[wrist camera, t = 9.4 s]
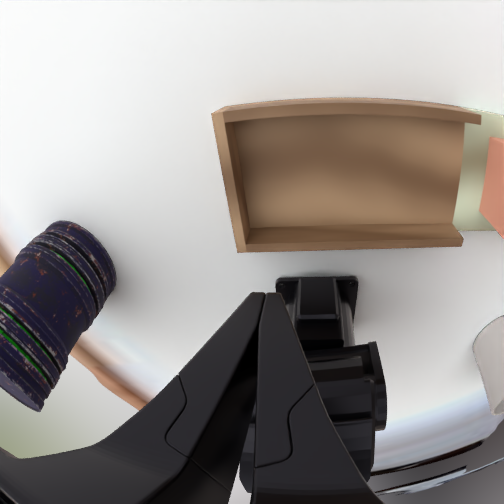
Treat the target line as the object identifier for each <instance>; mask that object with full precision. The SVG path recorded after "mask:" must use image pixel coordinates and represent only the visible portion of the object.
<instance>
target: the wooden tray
mask: <svg viewBox="0 0 504 504" xmlns="http://www.w3.org/2000/svg"><path fill="white" fill-rule="evenodd" d="M211 115H212V120H213V126H214V131H215V137H216V142H217V148H218V153H219V159H220V164H221V169H222V175H223V180H224V185H225V191H226V196H227V201H228V206H229V212H230V217H231V222H232V227H233V232H234V237H235V242H236V248H237V253H244V252H280V251H317V250H353V249H389V248H425V247H461V246H462V243H463V237H462V236H461V235H460V233H459V232H458V231H496V229H495V228H494V227H493V226H492V225H491V224H490V223H489V221H488V220H487V219H486V218H485V217H484V216H483V215H482V214H481V213H480V212H479V207H480V202H481V197H482V192H483V186H484V180H485V173H486V166H487V158H488V148H489V137H496V138H502V139H504V116H503V115H499V114H495V113H490V112H486V111H481V110H476V109H470V108H464V107H458V106H452V105H445V104H438V103H430V102H421V101H410V100H397V99H380V98H310V99H292V100H278V101H267V102H257V103H249V104H241V105H233V106H226V107H223V108H221V109H219V110H217V111H215V112H214V113H212V114H211Z"/></svg>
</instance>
